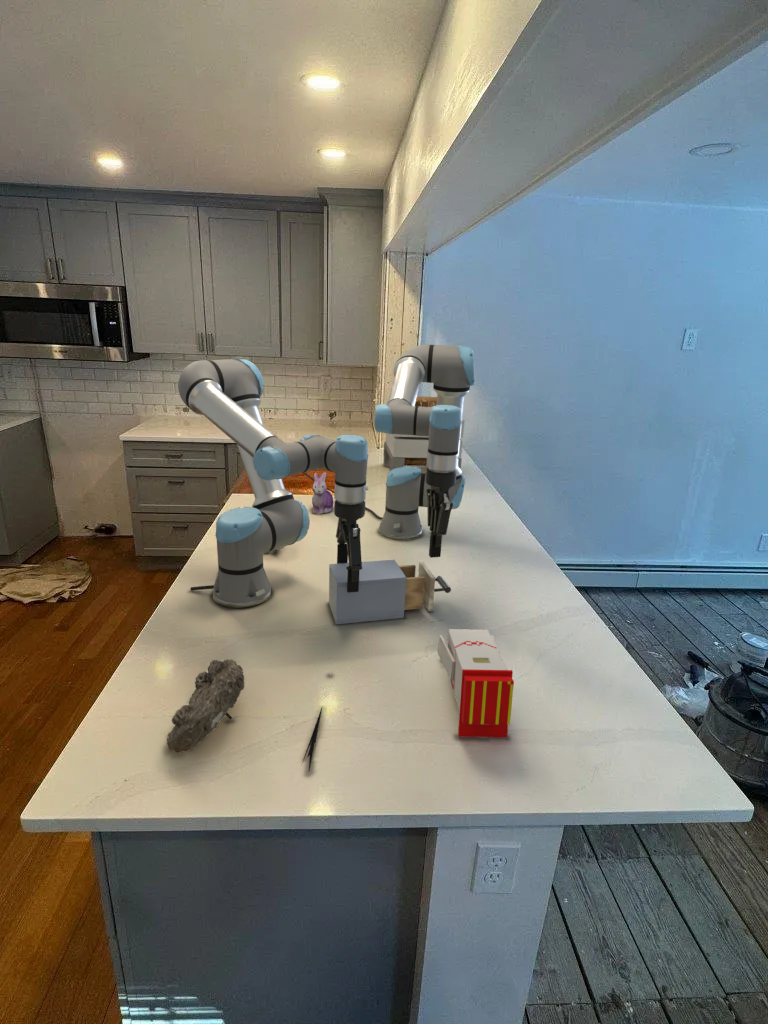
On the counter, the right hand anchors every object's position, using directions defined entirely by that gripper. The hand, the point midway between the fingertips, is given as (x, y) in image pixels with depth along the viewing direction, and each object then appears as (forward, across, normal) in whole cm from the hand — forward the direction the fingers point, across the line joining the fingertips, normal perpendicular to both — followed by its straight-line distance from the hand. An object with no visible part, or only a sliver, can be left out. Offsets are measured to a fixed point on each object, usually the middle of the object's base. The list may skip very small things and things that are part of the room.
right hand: (434, 556), depth 148 cm
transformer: (+14, +124, -38) cm, 130 cm away
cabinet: (+14, 0, +18) cm, 23 cm away
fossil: (+14, -34, +56) cm, 67 cm away
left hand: (+5, 0, +23) cm, 24 cm away
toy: (+14, -37, +4) cm, 40 cm away
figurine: (+14, +78, +17) cm, 81 cm away
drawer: (+13, 0, +7) cm, 15 cm away
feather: (+14, -39, +36) cm, 55 cm away
